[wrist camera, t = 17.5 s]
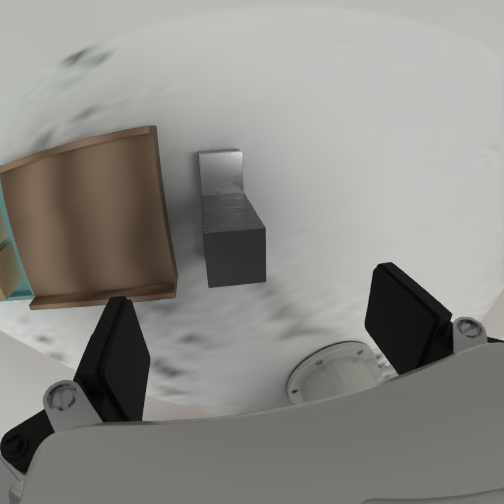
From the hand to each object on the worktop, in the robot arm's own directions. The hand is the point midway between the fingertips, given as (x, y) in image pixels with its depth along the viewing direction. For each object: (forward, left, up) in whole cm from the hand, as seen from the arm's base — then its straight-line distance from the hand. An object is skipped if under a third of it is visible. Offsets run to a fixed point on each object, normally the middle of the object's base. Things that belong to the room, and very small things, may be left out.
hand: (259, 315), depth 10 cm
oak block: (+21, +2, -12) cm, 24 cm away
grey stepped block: (0, 0, -15) cm, 15 cm away
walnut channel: (+12, -1, -14) cm, 19 cm away
